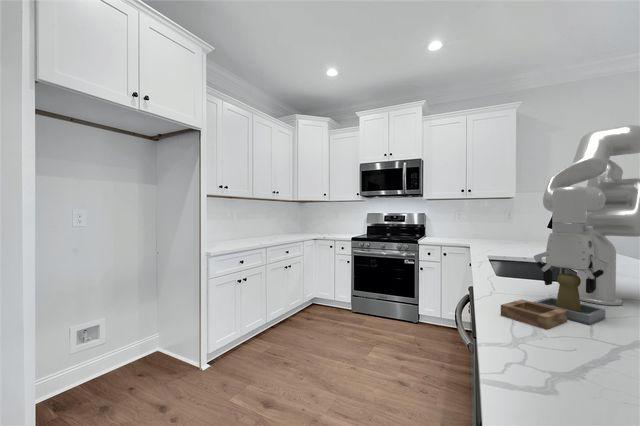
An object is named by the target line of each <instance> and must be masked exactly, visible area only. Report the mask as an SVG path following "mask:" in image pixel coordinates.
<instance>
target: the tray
mask: <svg viewBox="0 0 640 426" xmlns="http://www.w3.org/2000/svg"><path fill="white" fill-rule="evenodd" d="M556 301H557V298H555V297H547V298H544V299H543V298H542V299H539V300H536V301H533V302H534V303H538V304H542V305H546V306H551V307H555V306H556ZM580 304H581V303H580ZM555 308H559V307H555ZM559 309H563V308H559ZM563 310H567V309H563ZM581 311H582V313H579V312H575V311H571V310H567V321H571V322H576V323H580V324H582V325H587V326H591V325H593V324H596V323H598V322H600V321H603V320H605V319H606V309H605V308H604V309H603V308H601V307H595V306H591V305H587V304H581Z"/></svg>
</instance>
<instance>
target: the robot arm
mask: <svg viewBox="0 0 640 426" xmlns="http://www.w3.org/2000/svg"><path fill="white" fill-rule="evenodd" d="M632 154H640V125H635V124H632V125H631V124H630V125H621V126H615V127H609V128H605V129H598V130H593V131H591V132H588V133H586V134H585V135H583V136H582V138H581V139H580V141H579V144H578V147H577V149H576V153H575V155H574V158H573V160H572V163H571V164H569V165H567V166H565V167H564V168H562V169H561V170H559V171H558V172H557V173H556V174H554V175H553V176H552V177H550V179H549V181H548V183H547V185H546V188H545V190H544V193H543V196H542V203H543V205H542V206H543V207H544V209H545V210H546V211H548V212H552V219H551V220H552V223H551V224H552V225H551V226H552V228H551V229H552V230H551V233H549V235H548V239H547V243H546V249H545V251H544V252H541V253H539V254H535V255H533V259H534V260H535V261H534V262H536V265H537V266H538V267H539V268H540V269H541V271H542V272H543V280H542V281H543V282H544V286H550V285H553V271H552V269H554V268H560V269H566V270H573V271H574V270H575V271H576V276H578V277H579V278H580V280H581V284H580V286H578V291H579V297H580V302H581V301H582V302H586V303H590V304H591V303H592V304H595V305H604V306H605V305H606V306H621V305H623V300H622V299H621V298H618V297H616V296H617V294H616V293H617V291H616V290H617V289H616V288H617V287H616V285H617V249H616V247H615V245H614V244H613V243H612V242H611V241H610V240H609V239H608V238H607V236H608V237H611V236H612V237H628V238H629V237H631V238H634V237H636V238H637V237H640V177H639V178H635V177H634V178H623V174H624V172H623V171H624V170H623V169H622V167H621V166H620V165H619V164H617V163H616V162H614V161H613V160H611V159H610V158H611V157H615V156H616V157H617V156H623V155H632ZM586 181H587V183H586V187H584V186H576V185H577V184H579V183H583V182H586ZM573 185H575V186H573ZM543 258H545V262H544V261H543V260H542V259H543Z"/></svg>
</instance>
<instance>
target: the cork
mask: <svg viewBox="0 0 640 426" xmlns="http://www.w3.org/2000/svg"><path fill="white" fill-rule="evenodd" d="M556 279H557V280H556V281H557V283H558V284H559V286H558V292H557V296H556V299H557V301H556V306H555V307H559V308H563V309H567V310H571V311H575V312H579V313H582V311H581V300H580V297H579V291H578V286H580V284H581V280H580V278H579V277H578V276H577V274H573V273H559V274H558V275H557V278H556Z"/></svg>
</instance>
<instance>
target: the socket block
mask: <svg viewBox="0 0 640 426" xmlns="http://www.w3.org/2000/svg"><path fill="white" fill-rule="evenodd" d="M534 302H535V301H531V300H525V299H518V300H514V301H509V302H506V303H502V304H500V316H501V317H505V318H508V319H511V320H514V321H518V322H522V323H525V324H528V325H531V326H533V327H537V328H540V329H543V328H544V330H549V329H551V328H554V327H557V326H559V325H562V324H565V323H567V322H568V320H567V310H563V309H559V308H555V307H551V306H546V305H542V304H538V303H534Z"/></svg>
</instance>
